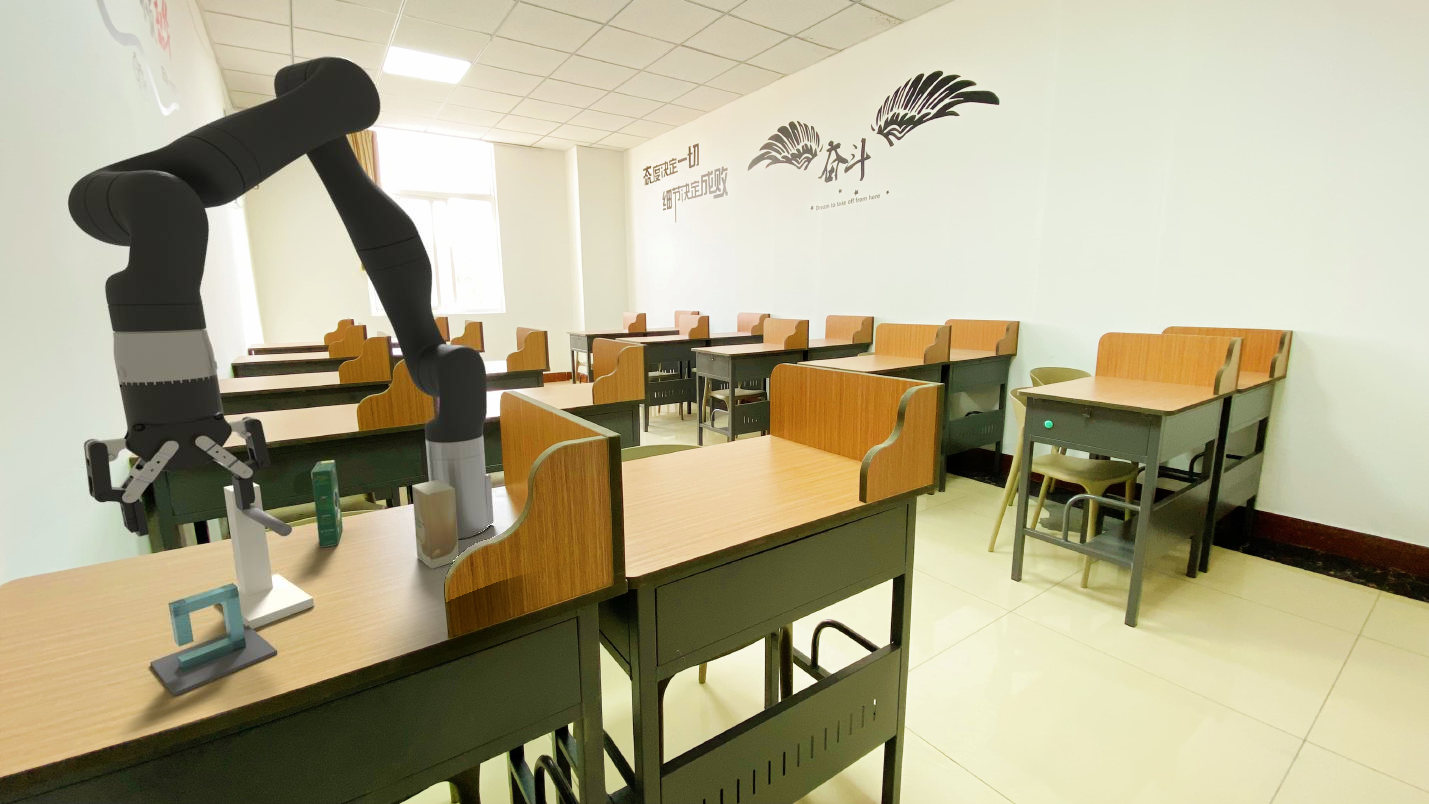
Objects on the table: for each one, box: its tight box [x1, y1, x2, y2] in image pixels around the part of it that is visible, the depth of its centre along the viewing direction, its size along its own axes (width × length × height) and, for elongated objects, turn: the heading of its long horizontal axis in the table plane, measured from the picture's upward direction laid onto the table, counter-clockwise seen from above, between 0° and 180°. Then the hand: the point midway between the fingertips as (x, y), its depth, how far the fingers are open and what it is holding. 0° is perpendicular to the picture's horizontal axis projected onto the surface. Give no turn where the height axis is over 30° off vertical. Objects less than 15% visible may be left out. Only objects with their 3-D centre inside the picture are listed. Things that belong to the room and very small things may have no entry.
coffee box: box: [310, 459, 344, 548], centre depth 98 cm, size 8×3×13 cm, turn 28°
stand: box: [219, 482, 315, 630], centre depth 75 cm, size 7×16×16 cm, turn 55°
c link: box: [168, 582, 246, 672], centre depth 65 cm, size 6×2×8 cm, turn 146°
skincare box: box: [411, 480, 460, 570], centre depth 90 cm, size 6×4×12 cm
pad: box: [149, 626, 278, 697], centre depth 66 cm, size 9×9×1 cm
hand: (195, 520), depth 63 cm, fingers open, 8 cm apart
